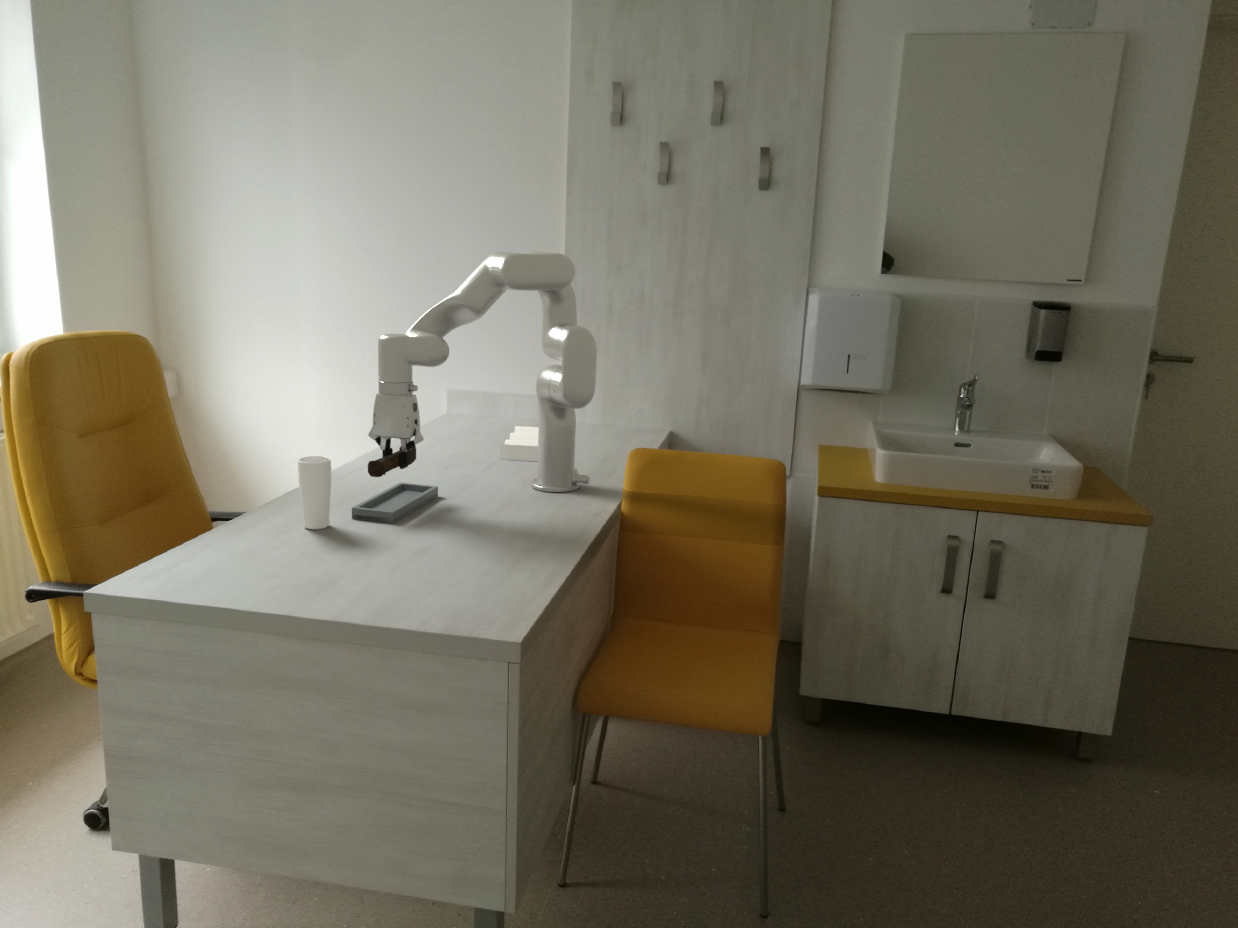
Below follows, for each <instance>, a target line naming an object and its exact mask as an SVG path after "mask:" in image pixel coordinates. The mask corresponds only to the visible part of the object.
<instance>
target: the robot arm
mask: <svg viewBox="0 0 1238 928" xmlns="http://www.w3.org/2000/svg"><path fill="white" fill-rule="evenodd" d="M575 277H576V268H575V264H574V262H573V260H572V259H571V258H569V256H567V255H566V254H563V253H559V252H547V251H531V252H529V253H519V252H508V251H507V252H506V251H495V252H493V253H490V255H487V257H486V258H485V259H484V260H483V261H482V262H481V263H480V264H479V265H478V266H477V267H476V268H475V270H473V271H472V272H471V273H470V275H469V276H468V277H467V278H466V279H465V280H464V281H463V282H462V283H461V284H460V285H459V286H458V288H457V289H456V290H455V291H453V293H451V294H449V295H448V296H446V297H445V298H443V299H442V300H441V301H440V302H438V303H436V304H435V305H434V306H432V307H431V308H430V309H428V310H427V311H426V312H424V313H423V314H422V315H421V316H420V317H419V318H418V319H417V320H416V321H415V322H414V323H413V325H411V326H410V328H409V329H408V330H407V331H406V333H405V334H404V333H384V334H381V335H380V336H379V338H378V341H377V348H378V349H377V352H378V353H377V354H378V355H377V362H378V366H377V367H378V370H377V372H378V392H377V393H376V394H375V399H374V403H373V412H372V427H371V428H370V430H369V432H368V437H369V438H370V439H372V440H373V441H375V443H376V444H377V445H378V446H379V448H380V450H381V451H382V457H386V456H388V455H390V454H393V453H394V451H393V450H394V449H393V448H392V447H391V443H392V439H397V440H398V439H399V440H400V447H401V449H402V452H400V453H399V469H400V470H404V469H407V468H408V467H409V466H410V465H409V450H411V449H412V448H413V447H414V446H416V445H417V444H419V443H422V442H424V439H425V438H424V437H423V435H422V432H421V421H420V420H421V419H420V418H421V417H420V409H419V404H418V398H417V394H414V392H417V391H418V389H419V388H418V385H415V384H414V381H413V366H415V367H416V366H418V367H425V368H436V367H439V366H441V365H443V364H444V363H445V362H446V361H447V360H448V358H449V356H450V347H449V344H448V342H447V341H446V340H445V339H444V338H445V336H447V335H448V334H449V333H450V332H452V331H453V330H456V329H457V328H459V327H462V326H465V325H468V324H471V323H474V322H476V321H478V320H480V319H481V318H482V317H483V316H485V314H486V313H487V312H488V311H489V310H490V309H491V307H492V306H494V305H495V303H496V302H497V301H498V300H499V299H500V298H501V297H502V295H503V294H504V293H506V291H507V290H511V291H519V292H520V291H521V292H522V291H525V292H530V291H531V292H532V291H534V292H535V291H536V292H537V293H538V295H539V297H540V299H541V305H542V332H541V333H542V336H541V344H542V350H543V353H544V354H545V355H546V356H547V357H548V358H550V359H551V360H555V361H559V362H561V365H560V364H551V365H548V366H546V367H544V368H543V369H542V370H541V371H540V372H539V373H538V376H537V377H536V378H537V379H536V382H535V388H536V389H535V391H536V398H537V406H538V427H539V432H538V461H537V477H535V478H533V479H531V482H530V485H531V487H532V489H533V488H534V489H535V490H538V491H541V492H549V493H567V492H572V491H577V490H578V489H579V488H580V485H581V484H585V485H589V484H590V479H591V478H590V476H588V475H587V474H580V473H578V468H575V461H576V460H575V459H576V458H575V455H576V429H577V418H576V411H575V409H582V408H585V407H587V406H588V405H589V404H590V403H591V401H592V400H593V398H594V396H595V392H596V382H597V381H596V380H597V360H598V359H597V358H598V357H597V356H598V355H597V351H598V350H597V349H598V348H597V343H596V340H595V336H594V335H593V333H592V332H591V331H590V330H589V329H588V328H586V327H584V326H581V325H578V314H577V298H576V293H575V290H574V288H573V286H572V282H573V281H574V279H575ZM413 437H414V439H413Z"/></svg>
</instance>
